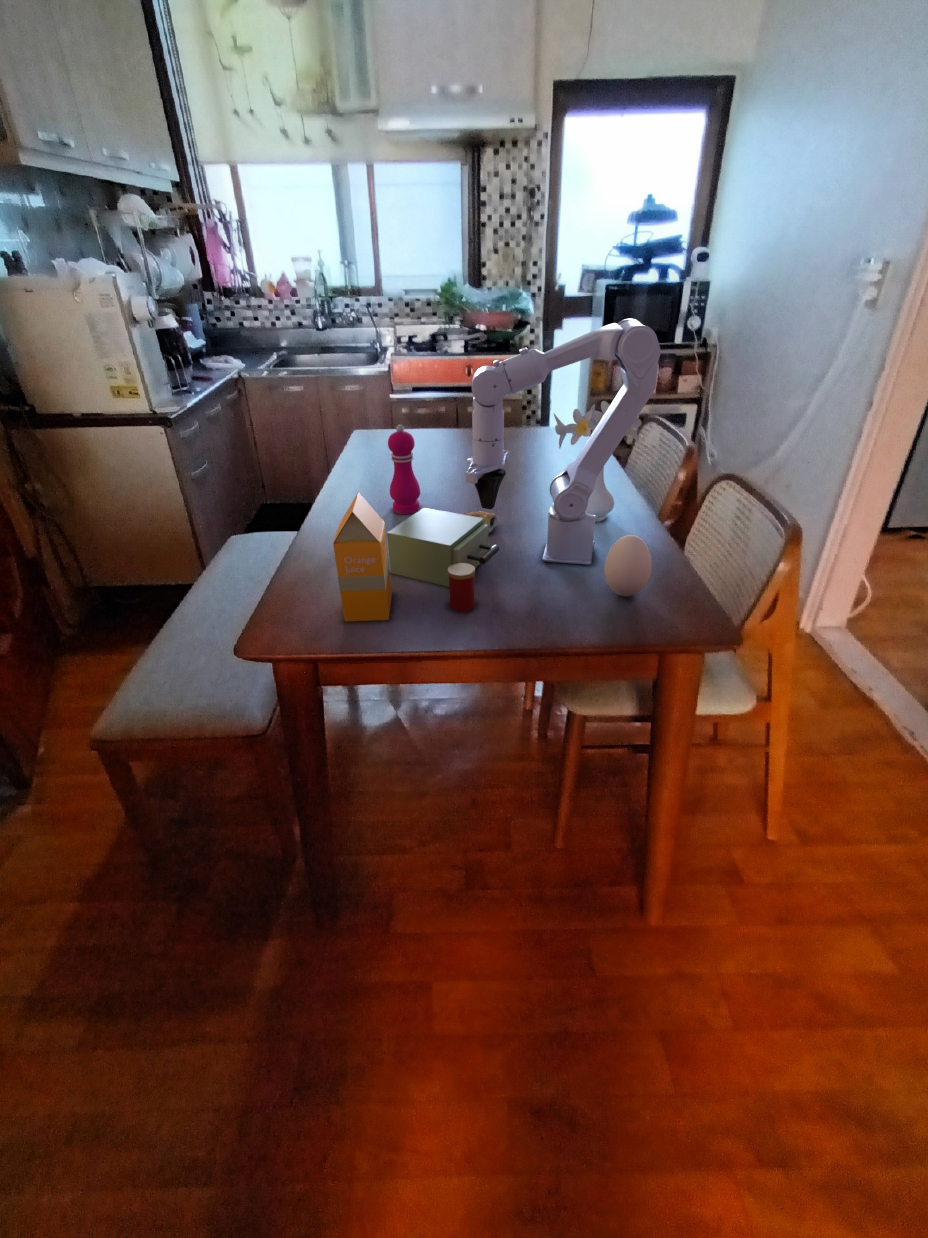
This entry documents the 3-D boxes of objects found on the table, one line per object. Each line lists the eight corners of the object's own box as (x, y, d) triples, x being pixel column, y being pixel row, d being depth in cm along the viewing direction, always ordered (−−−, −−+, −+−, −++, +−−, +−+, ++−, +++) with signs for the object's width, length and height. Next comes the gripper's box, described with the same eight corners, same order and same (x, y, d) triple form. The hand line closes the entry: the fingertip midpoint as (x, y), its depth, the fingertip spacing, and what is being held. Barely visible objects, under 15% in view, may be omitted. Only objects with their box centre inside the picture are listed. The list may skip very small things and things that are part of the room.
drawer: (506, 560, 122) (506, 528, 119) (477, 587, 113) (477, 554, 109) (434, 544, 129) (432, 514, 125) (402, 570, 120) (399, 537, 116)
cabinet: (484, 557, 125) (484, 518, 121) (452, 587, 115) (450, 545, 110) (426, 545, 131) (424, 507, 126) (390, 573, 121) (386, 532, 116)
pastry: (449, 530, 137) (448, 513, 135) (462, 519, 142) (461, 503, 140) (488, 536, 134) (488, 519, 132) (500, 524, 139) (500, 508, 137)
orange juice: (392, 594, 113) (382, 489, 103) (389, 620, 106) (377, 510, 95) (349, 596, 113) (335, 491, 103) (343, 621, 106) (326, 511, 95)
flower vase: (544, 508, 147) (550, 398, 133) (622, 505, 147) (635, 396, 134) (553, 530, 136) (560, 414, 122) (637, 527, 136) (653, 411, 123)
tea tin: (477, 599, 111) (477, 563, 107) (472, 613, 107) (471, 576, 103) (452, 597, 112) (451, 561, 108) (446, 610, 108) (444, 574, 104)
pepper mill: (385, 512, 147) (376, 426, 136) (401, 501, 152) (394, 419, 142) (411, 517, 144) (404, 430, 133) (427, 506, 149) (422, 422, 139)
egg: (593, 594, 112) (598, 536, 106) (618, 579, 116) (625, 522, 110) (631, 610, 107) (639, 550, 101) (655, 593, 111) (665, 535, 105)
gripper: (485, 425, 120) (485, 492, 128) (449, 445, 109) (452, 517, 117) (519, 429, 117) (517, 497, 125) (485, 450, 107) (485, 523, 114)
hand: (487, 507), depth 120 cm, fingers closed
